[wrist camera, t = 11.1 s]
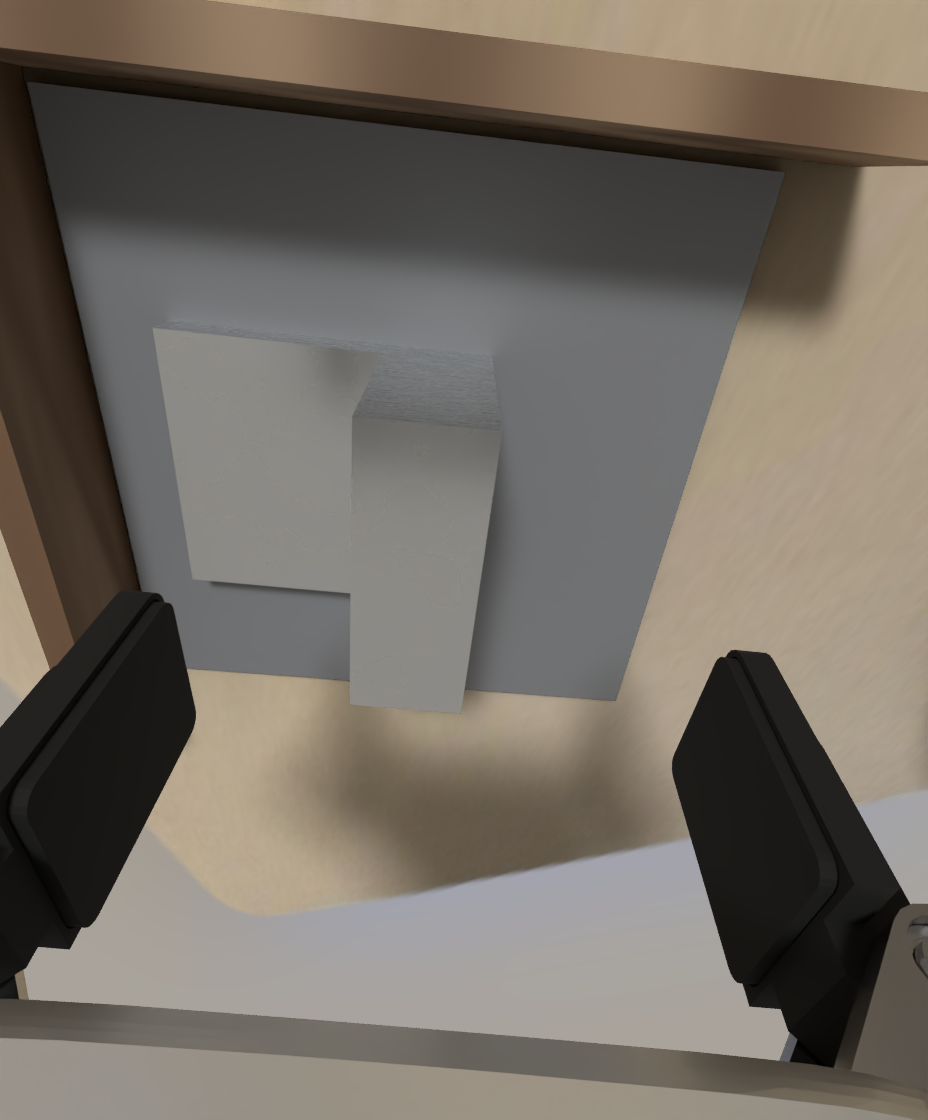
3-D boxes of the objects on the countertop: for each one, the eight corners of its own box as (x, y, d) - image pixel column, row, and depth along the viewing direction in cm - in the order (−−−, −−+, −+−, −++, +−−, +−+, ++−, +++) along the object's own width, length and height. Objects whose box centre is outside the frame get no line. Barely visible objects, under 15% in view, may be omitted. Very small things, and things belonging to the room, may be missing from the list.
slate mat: (778, 172, 15) (785, 172, 15) (613, 693, 25) (615, 700, 25) (37, 83, 14) (27, 81, 14) (163, 659, 24) (159, 666, 24)
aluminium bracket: (462, 586, 22) (461, 713, 16) (203, 563, 21) (120, 686, 16) (492, 355, 17) (502, 432, 12) (168, 320, 17) (39, 383, 12)
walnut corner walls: (881, 91, 14) (1008, 66, 11) (652, 711, 25) (679, 793, 22) (-47, -27, 13) (-221, -95, 10) (133, 671, 24) (79, 751, 21)
